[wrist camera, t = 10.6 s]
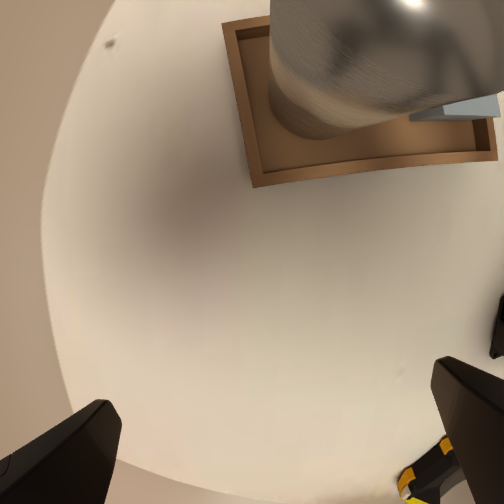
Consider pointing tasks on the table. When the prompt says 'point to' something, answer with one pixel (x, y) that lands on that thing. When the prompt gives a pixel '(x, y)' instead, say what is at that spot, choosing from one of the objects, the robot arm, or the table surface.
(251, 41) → the walnut tray
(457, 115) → the pale grey cube
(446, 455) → the gaming controller
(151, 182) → the table surface
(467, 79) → the metal cylinder
